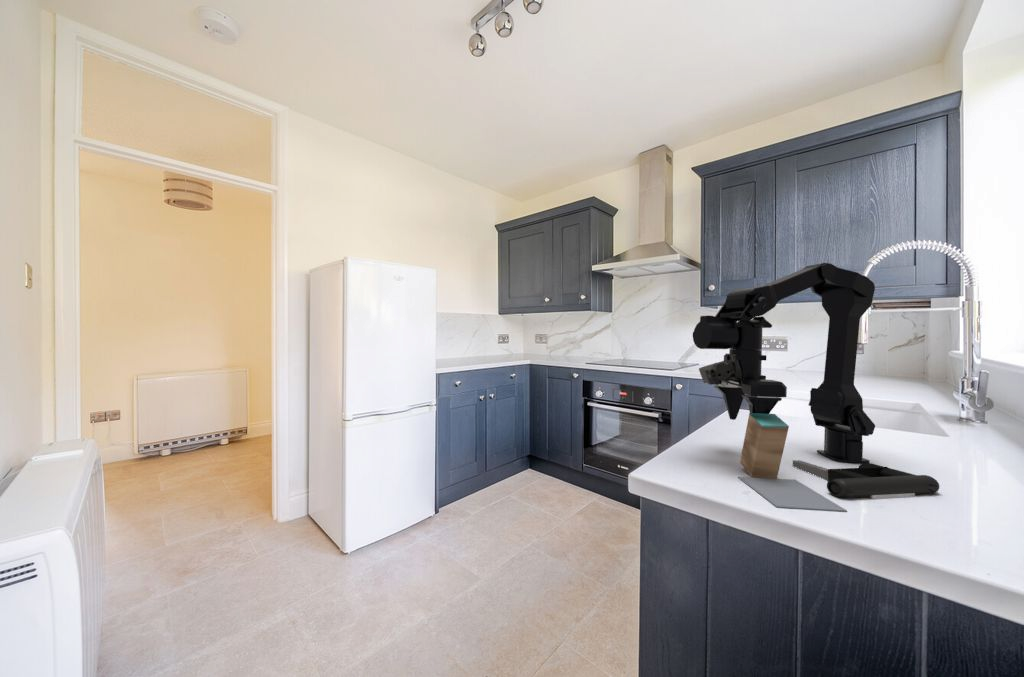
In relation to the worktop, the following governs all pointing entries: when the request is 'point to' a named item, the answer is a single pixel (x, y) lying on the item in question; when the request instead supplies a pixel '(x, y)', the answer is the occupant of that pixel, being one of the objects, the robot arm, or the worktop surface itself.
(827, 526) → the worktop surface
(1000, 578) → the worktop surface
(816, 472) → the door handle
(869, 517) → the worktop surface
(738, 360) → the robot arm
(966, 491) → the worktop surface
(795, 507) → the mat
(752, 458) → the walnut block
